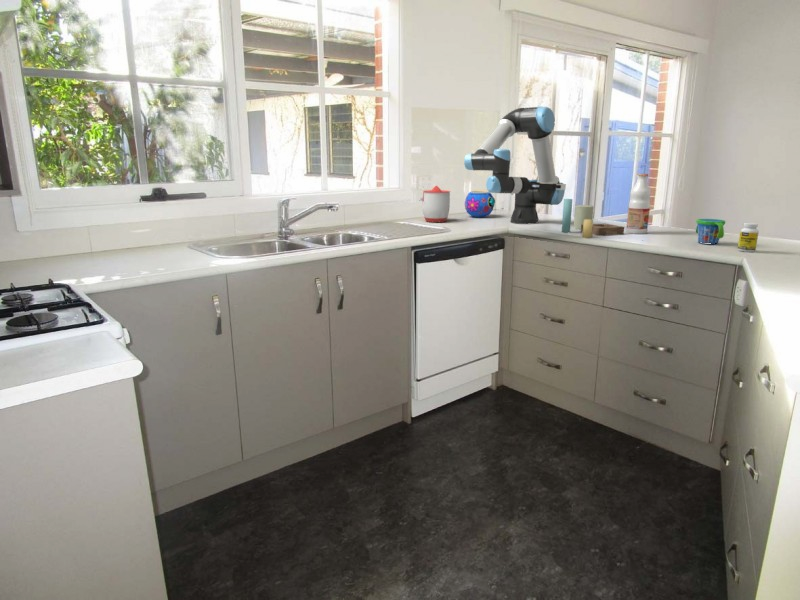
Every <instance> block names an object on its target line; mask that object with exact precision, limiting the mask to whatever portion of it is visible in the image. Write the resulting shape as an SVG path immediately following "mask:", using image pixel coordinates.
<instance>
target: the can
mask: <svg viewBox="0 0 800 600" xmlns="http://www.w3.org/2000/svg"><path fill="white" fill-rule="evenodd" d="M594 208H595V207H594V205H590V204H589V205H588V204H576V205H575V206H574V221H573V229H574V228H575V229H574V230H581V225H583V223H584V220H585V219H590V220H593V219H594V218H593V217H594V216H593V215H594Z"/></svg>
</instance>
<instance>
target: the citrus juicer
mask: <svg viewBox="0 0 800 600" xmlns="http://www.w3.org/2000/svg"><path fill="white" fill-rule="evenodd" d="M422 194H423V196H421V197H420V198H419V201H420V202H422V212H423V217H424V218H423V219H424V220H425V222H428V223H444V222H447V219H448V217H449V213H450V203H451V202H450V200H451V199H450V196H451V191H450V190H445V189H444V190H443V189H441V188H440V187H439V186H438V185H435V186H434V187H433V188H432V189H431V190H430V189H429V190H423V193H422Z"/></svg>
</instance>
